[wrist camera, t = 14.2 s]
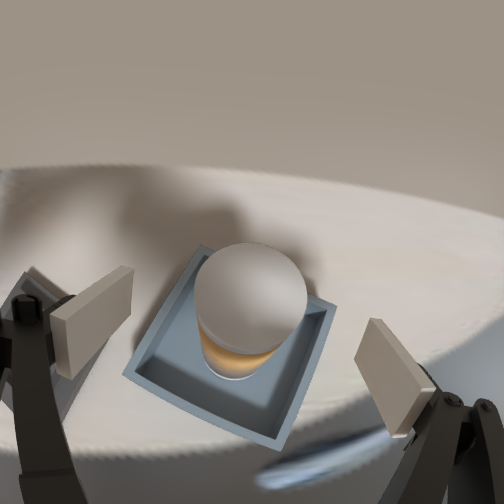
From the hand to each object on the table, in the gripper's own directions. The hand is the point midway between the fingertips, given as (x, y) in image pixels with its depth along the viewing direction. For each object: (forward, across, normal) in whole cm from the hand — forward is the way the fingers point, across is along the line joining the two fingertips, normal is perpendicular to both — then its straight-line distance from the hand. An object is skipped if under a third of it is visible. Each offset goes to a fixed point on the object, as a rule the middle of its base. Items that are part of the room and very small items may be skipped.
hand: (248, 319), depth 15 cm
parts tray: (+7, 0, -7) cm, 10 cm away
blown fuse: (+7, 0, -6) cm, 9 cm away
